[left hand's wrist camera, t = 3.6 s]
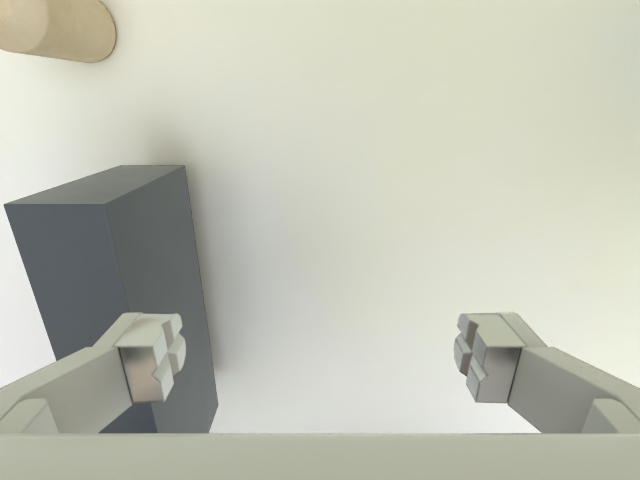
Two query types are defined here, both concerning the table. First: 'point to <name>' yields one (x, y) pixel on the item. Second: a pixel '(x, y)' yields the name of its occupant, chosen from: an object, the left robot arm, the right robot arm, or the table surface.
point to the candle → (57, 29)
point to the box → (121, 276)
